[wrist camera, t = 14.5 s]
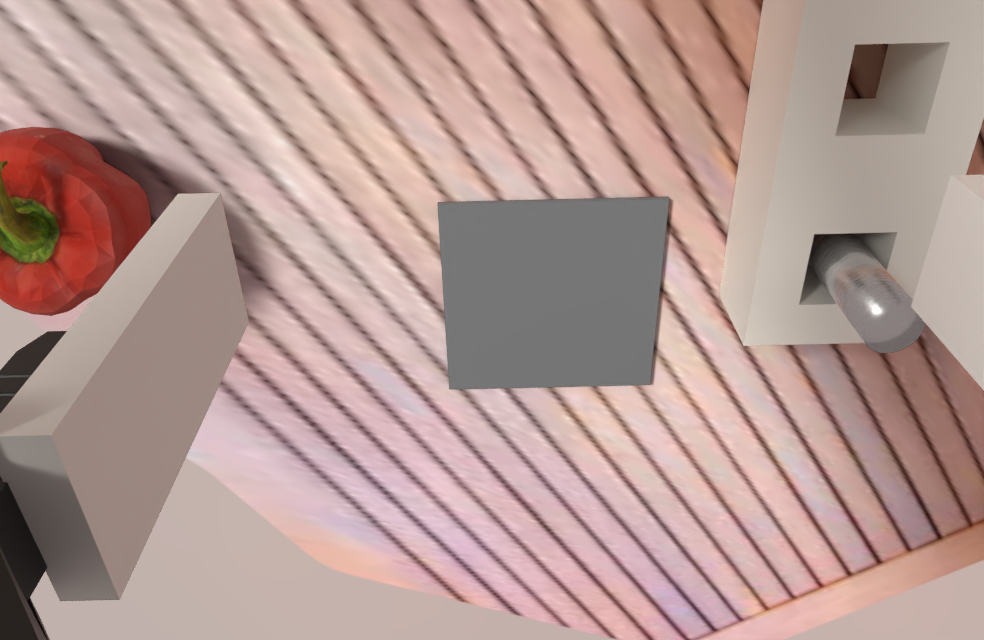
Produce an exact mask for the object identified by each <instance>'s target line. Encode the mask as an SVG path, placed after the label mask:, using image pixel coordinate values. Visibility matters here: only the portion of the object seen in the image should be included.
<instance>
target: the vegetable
mask: <svg viewBox="0 0 984 640" xmlns="http://www.w3.org/2000/svg"><path fill="white" fill-rule="evenodd" d="M150 227H151V215H150V207H149V202H148V198H147V194H146V192H145V191H144V190H143V188H142V187H141V186H140V185H139V184H138V182H136V181H135V180H133V179H132V178H131V177H129V176H128V175H126V174H125V173H123V172H122V171H120V170H118V169H116V168H114V167H112V166H110V165H109V164H107V163H105V162H104V161H103V158H102V156H101V154H100V152H99V151H98V150H97V149H96V148H95V147H94V146H93V145H91V144H90V143H89V142H88V141H86V140H85V139H83V138H82V137H80V136H78V135H75V134H73V133H70V132H68V131H64V130H60V129H56V128H41V127H29V128H20V129H13V130H8V131H4V132H1V133H0V299H1V300H2V301H4V302H6V303H7V304H9V305H10V306H12V307H13V308H15V309H18V310H22V311H25V312H28V313H31V314H39V315H50V316H52V315H56V314H60V313H64V312H68V311H70V310H71V309H73V308H75V307H76V306H77V305H79V304H80V303H82V302H83V301H84V300H86V299H87V298H89V297H91V296H93V295H95V294H97V293H98V292H99V291H100V290H101V288H102V287H103V286H104V285H105V283H106V282H107V281H108V280H109V279H110V277H111V276H112V275H113V274H114V272H115V271H116V270H117V269H118V267H119V266H120V265H121V264H122V262H123V261H124V260H125V259H126V258H127V256H128V255H129V254H130V253H131V251H132V250H133V249H134V248H135V246H136V245H137V244H138V243H139V241H140V240H141V239H142V238H143V236H144V235H145V234H146V233H147V232H148V230H149V229H150Z"/></svg>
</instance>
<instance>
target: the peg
mask: <svg viewBox="0 0 984 640" xmlns="http://www.w3.org/2000/svg"><path fill="white" fill-rule="evenodd" d="M808 265H809V266H810V268H811V269H812V270H813V272H814V273H815V274H816V276H817V277H818V279H819V280H820V281H821V283H822V284H823V286H824V287H825V288H826V290H827V291H828V293H829V294H830V295H831V297H832V298H833V299H834V301H835V302H836V304H837V305H838V306H839V308H840V309H841V311H842V312H843V313H844V315H845V316H846V317H847V319H848V320H849V322H850V323H851V324H852V326H853V327H854V329H855V330H856V331H857V333H858V334H859V336H860V337H861V338H862V340H863V341H864V342H865V344H866V345H867V346H868V347H869V348H870V349H872V350H874V351H876V352H880V353H892V352H896V351H900V350H902V349H904V348H906V347H908V346H910V345H911V344H912V343H914V342H915V341H916V340H917V339H918V338H919V336H920V335H921V333H922V332H923V329H924V327H925V322H924V321H923V320H922V319H921V318H920V316H919V315H918V314H917V313H916V312H915V311H914V309H913V308H912V307H911V305H912V301H913V300H912V298H911V297H910V296H909V295H908V294H907V293H906V292H905V291H904V289H903V288H902V287H901V286H900V285H899V284H898V283H897V281H896V280H895V279H894V278H893V277H892V276H891V275H890V274H889V272H888V271H887V270H886V269H885V268H884V267H883V266H882V264H881V263H880V262H879V261H878V260H877V259H876V258H875V257H874V255H873V254H872V253H871V252H870V251H869V250H868V249H867V248H866V246H865V245H864V244H863V243H862V242H861V241H860V240H859V238H858V237H857V236H856V235H855V234H854V233H846V234H814V238H813V242H812V247H811V252H810V256H809V261H808Z"/></svg>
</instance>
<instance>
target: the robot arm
mask: <svg viewBox="0 0 984 640" xmlns="http://www.w3.org/2000/svg"><path fill="white" fill-rule="evenodd" d="M911 307H912V308H913V309H914V311H915V312H916V313H917V314H918V315H919V316H920V318H921V319H922V320H923V321H924V322H925V323H926V324H927V326H928V327H929V328H930V329H931V330H932V331H933V333H934V334H935V335H936V336H937V337H938V338H939V339H940V341H941V342H942V343H943V344H944V345H945V346H946V348H947V349H948V350H949V351H950V352H951V353H952V354H953V356H954V357H955V358H956V359H957V360H958V361H959V363H960V364H961V365H962V366H963V367H964V368H965V369H966V371H967V372H968V373H969V374H970V375H971V376H972V378H973V379H974V380H975V381H976V382H977V383H978V384H979V386H980V387H981V388H982V389H983V390H984V175H951V176H950V180H949V183H948V186H947V190H946V193H945V196H944V199H943V203H942V206H941V209H940V213H939V216H938V219H937V222H936V226H935V229H934V232H933V236H932V239H931V242H930V245H929V249H928V252H927V255H926V259H925V262H924V265H923V268H922V272H921V275H920V278H919V282H918V285H917V288H916V291H915V295H914V298H913V301H912V305H911ZM248 323H249V320H248V316H247V311H246V307H245V302H244V298H243V293H242V289H241V284H240V279H239V275H238V270H237V266H236V261H235V257H234V252H233V248H232V243H231V239H230V234H229V230H228V225H227V221H226V216H225V211H224V207H223V202H222V198H221V193H192V194H177V196H176V197H175V198H174V199H173V201H172V202H171V203H170V204H169V206H168V207H167V208H166V209H165V211H164V212H163V213H162V214H161V215H160V217H159V218H158V219H157V220H156V222H155V223H154V224H153V225H152V227H151V228H150V229H149V230H148V232H147V233H146V234H145V235H144V236H143V238H142V239H141V240H140V241H139V243H138V244H137V245H136V246H135V248H134V249H133V250H132V251H131V253H130V254H129V255H128V256H127V258H126V259H125V260H124V261H123V262H122V264H121V265H120V266H119V267H118V269H117V270H116V271H115V272H114V274H113V275H112V276H111V277H110V279H109V280H108V281H107V282H106V283H105V285H104V286H103V287H102V288H101V290H100V291H99V292H98V293H97V295H96V296H95V297H94V298H93V300H92V301H91V302H90V303H89V305H88V306H87V307H86V308H85V309H84V311H83V312H82V313H81V314H80V316H79V317H78V318H77V319H76V321H75V322H74V323H73V324H72V326H71V327H70V328H69V329H68V330H67V331H52V332H46V333H45V334H43V335H42V336H40V337H38V338H37V339H35V340H34V341H32V342H31V343H29V344H28V345H26V346H25V347H23V348H22V349H20V350H18V351H17V352H16V353H15V354H14V355H13V357H12V358H11V359H10V360H9V361H8V362H7V363H6V364H5V366H4V367H3V368H2V369H1V370H0V640H50V639H49V637H48V635H47V633H46V630H45V628H44V626H43V624H42V622H41V619H40V617H39V615H38V613H37V611H36V609H35V607H34V605H33V603H32V601H31V599H30V596H31V594H32V592H33V591H34V589H35V588H36V586H37V584H38V582H39V581H40V579H41V577H42V576H43V574H44V572H45V570H46V572H47V575H48V576H49V579H50V581H51V583H52V585H53V587H54V589H55V591H56V593H57V595H58V597H59V599H60V601H85V600H119V599H120V598H121V596H122V594H123V591H124V589H125V587H126V585H127V582H128V581H129V578H130V576H131V574H132V572H133V570H134V568H135V565H136V563H137V561H138V559H139V557H140V555H141V553H142V550H143V548H144V546H145V544H146V542H147V540H148V538H149V535H150V533H151V531H152V528H153V527H154V525H155V522H156V520H157V518H158V516H159V514H160V512H161V510H162V507H163V505H164V503H165V501H166V499H167V497H168V495H169V492H170V490H171V488H172V486H173V484H174V482H175V480H176V477H177V475H178V473H179V471H180V468H181V467H182V464H183V462H184V460H185V458H186V456H187V454H188V452H189V449H190V447H191V445H192V443H193V441H194V439H195V436H196V434H197V432H198V430H199V428H200V426H201V424H202V421H203V419H204V417H205V415H206V413H207V411H208V409H209V406H210V404H211V402H212V400H213V398H214V396H215V393H216V391H217V389H218V387H219V385H220V383H221V381H222V378H223V376H224V374H225V372H226V370H227V368H228V366H229V363H230V361H231V359H232V357H233V355H234V353H235V350H236V348H237V346H238V344H239V342H240V340H241V338H242V335H243V333H244V331H245V329H246V327H247V325H248Z"/></svg>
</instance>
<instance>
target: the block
mask: <svg viewBox="0 0 984 640" xmlns="http://www.w3.org/2000/svg"><path fill="white" fill-rule="evenodd" d="M860 44H888V47H887V52H886V56H885V60H884V64H883V69H882V73H881V77H880V81H879V85H878V90H877V94H876V98H868V99H844V94H845V89H846V85H847V80H848V75H849V71H850V66H851V62H852V57H853V52H854V48H855V45H860ZM983 119H984V0H763V5H762V11H761V18H760V24H759V31H758V38H757V44H756V51H755V58H754V64H753V71H752V77H751V84H750V91H749V97H748V104H747V110H746V117H745V124H744V130H743V137H742V144H741V150H740V157H739V163H738V170H737V177H736V183H735V190H734V196H733V203H732V210H731V216H730V223H729V230H728V236H727V243H726V249H725V256H724V263H723V269H722V276H721V283H720V289H719V296H720V298H721V300H722V302H723V304H724V306H725V308H726V310H727V312H728V314H729V316H730V318H731V320H732V322H733V325H734V327H735V329H736V331H737V333H738V335H739V337H740V339H741V341H742V343H743V345H744V346H758V345H801V344H845V343H865V342H864V341H863V340H862V338H861V337H860V336H859V334H858V333H857V331H856V330H855V329H854V327H853V326H852V324H851V323H850V322H849V320H848V319H847V317H846V316H845V315H844V313H843V312H842V311H841V309H840V308H839V306H838V305H837V304H836V302H835V301H834V299H833V298H832V297H831V295H830V294H829V293H828V291H827V290H826V288H825V287H824V286H823V284H822V283H821V281H820V280H819V279H818V277H817V276H816V274H815V273H814V272H813V270H812V269H811V268H810V266H809V265H808V261H809V256H810V252H811V247H812V242H813V238H814V234H846V233H854V234H855V235H856V236H857V237H858V238H859V240H860V241H861V242H862V243H863V244H864V245H865V246H866V248H867V249H868V250H869V251H870V252H871V253H872V254H873V255H874V257H875V258H876V259H877V260H878V261H879V262H880V263H881V264H882V266H883V267H884V268H885V269H886V270H887V271H888V272H889V274H890V275H891V276H892V277H893V278H894V279H895V280H896V281H897V283H898V284H899V285H900V286H901V287H902V288H903V289H904V291H905V292H906V293H907V294H908V295H909V296H910V297H911V298H912V300H913V298H914V295H915V291H916V288H917V285H918V282H919V278H920V275H921V272H922V268H923V265H924V262H925V259H926V255H927V252H928V249H929V245H930V242H931V239H932V236H933V232H934V229H935V226H936V222H937V219H938V216H939V213H940V209H941V206H942V203H943V199H944V196H945V193H946V190H947V186H948V183H949V180H950V176H951V175H966V173H967V170H968V167H969V163H970V160H971V157H972V154H973V151H974V148H975V144H976V141H977V138H978V135H979V132H980V128H981V125H982V122H983Z"/></svg>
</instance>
